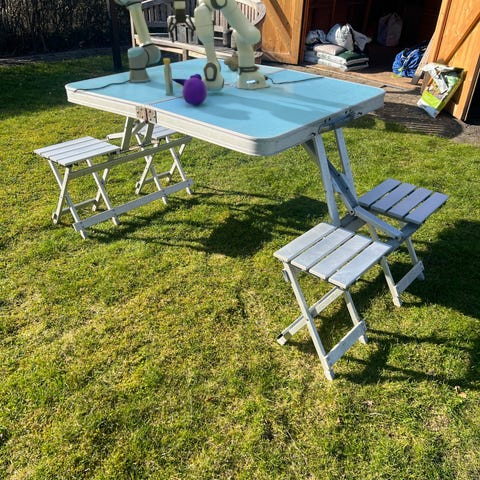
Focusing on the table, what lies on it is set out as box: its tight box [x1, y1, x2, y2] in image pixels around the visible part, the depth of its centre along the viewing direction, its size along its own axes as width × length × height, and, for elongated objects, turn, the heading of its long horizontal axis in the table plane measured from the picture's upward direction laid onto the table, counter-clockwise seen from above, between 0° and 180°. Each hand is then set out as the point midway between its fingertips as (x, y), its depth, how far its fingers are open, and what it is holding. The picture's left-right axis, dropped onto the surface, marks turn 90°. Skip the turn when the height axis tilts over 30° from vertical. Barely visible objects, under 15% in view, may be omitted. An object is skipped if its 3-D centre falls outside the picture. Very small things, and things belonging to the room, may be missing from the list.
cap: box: [162, 57, 171, 64], centre depth 288 cm, size 4×4×2 cm
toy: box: [172, 73, 208, 106], centre depth 273 cm, size 16×18×27 cm
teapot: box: [223, 50, 239, 72], centre depth 366 cm, size 21×12×15 cm, turn 120°
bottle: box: [163, 63, 175, 96], centre depth 293 cm, size 5×5×22 cm
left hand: (182, 42), depth 316 cm, fingers open, 13 cm apart
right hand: (178, 84), depth 295 cm, fingers open, 8 cm apart
